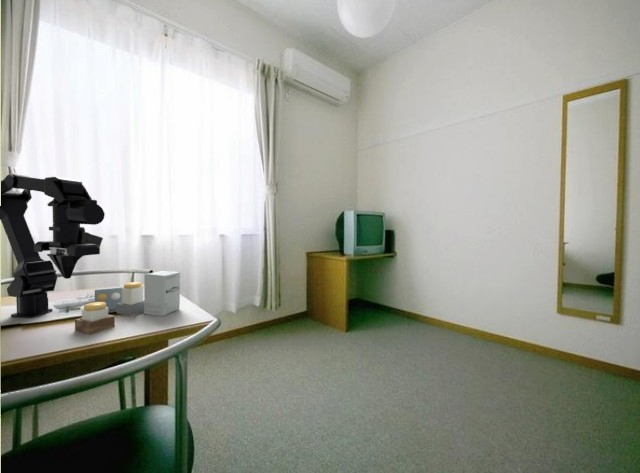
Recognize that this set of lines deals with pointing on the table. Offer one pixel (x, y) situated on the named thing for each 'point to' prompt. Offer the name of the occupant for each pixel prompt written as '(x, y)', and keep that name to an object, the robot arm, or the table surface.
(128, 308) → the grey collar
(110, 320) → the walnut collar
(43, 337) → the table surface
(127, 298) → the yellow topped white block
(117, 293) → the pattern card
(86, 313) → the lidded white jar
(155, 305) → the supplement box
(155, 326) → the table surface
